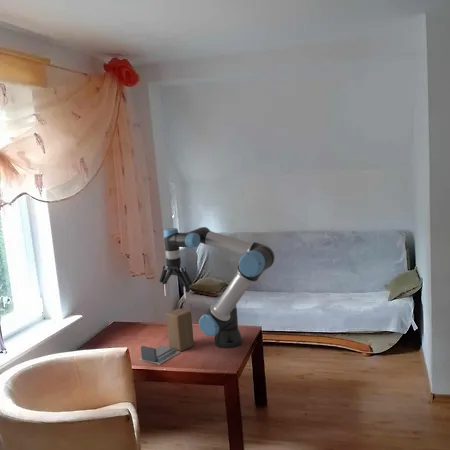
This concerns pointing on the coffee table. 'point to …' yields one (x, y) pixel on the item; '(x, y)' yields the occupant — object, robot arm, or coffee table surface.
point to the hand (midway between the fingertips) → (176, 296)
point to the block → (180, 329)
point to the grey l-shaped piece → (157, 354)
